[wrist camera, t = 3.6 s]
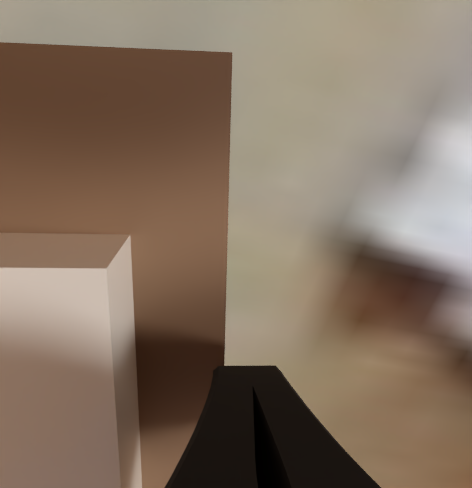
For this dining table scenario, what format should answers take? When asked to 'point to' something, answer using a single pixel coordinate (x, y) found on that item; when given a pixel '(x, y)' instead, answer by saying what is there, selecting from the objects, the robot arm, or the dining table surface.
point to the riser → (132, 201)
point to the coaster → (68, 362)
